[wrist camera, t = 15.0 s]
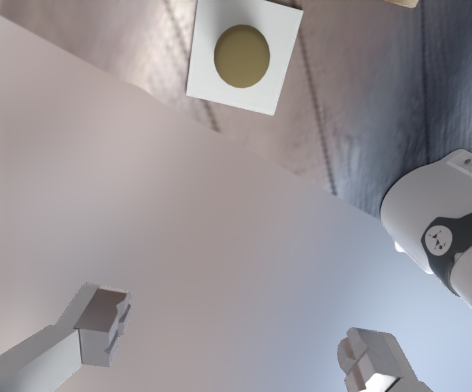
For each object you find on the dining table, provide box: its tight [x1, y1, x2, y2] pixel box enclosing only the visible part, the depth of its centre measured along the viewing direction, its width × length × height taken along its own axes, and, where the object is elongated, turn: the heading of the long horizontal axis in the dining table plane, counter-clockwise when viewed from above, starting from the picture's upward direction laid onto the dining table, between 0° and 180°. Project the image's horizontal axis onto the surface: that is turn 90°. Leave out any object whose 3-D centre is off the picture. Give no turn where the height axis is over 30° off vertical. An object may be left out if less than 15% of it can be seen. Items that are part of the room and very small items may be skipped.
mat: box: [186, 0, 303, 116], centre depth 33 cm, size 12×12×1 cm
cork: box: [214, 24, 270, 88], centre depth 28 cm, size 6×6×11 cm
